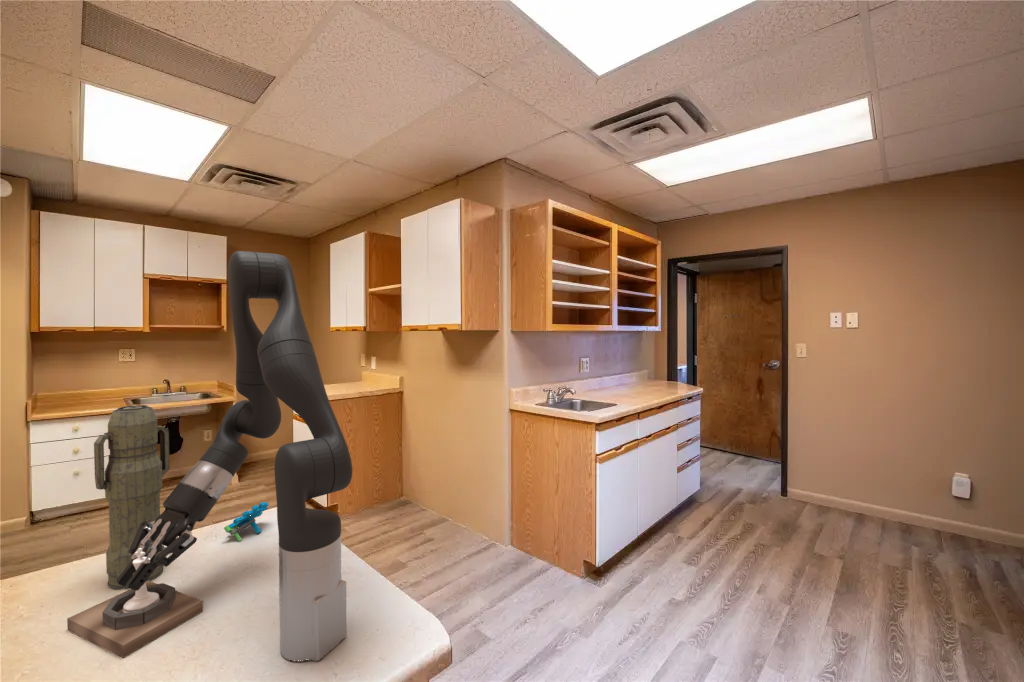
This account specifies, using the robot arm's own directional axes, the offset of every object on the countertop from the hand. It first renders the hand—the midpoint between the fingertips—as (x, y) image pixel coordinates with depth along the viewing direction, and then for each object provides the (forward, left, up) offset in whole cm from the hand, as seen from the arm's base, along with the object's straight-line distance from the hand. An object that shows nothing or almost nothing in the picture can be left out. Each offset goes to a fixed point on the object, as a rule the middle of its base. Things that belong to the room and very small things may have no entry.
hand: (126, 586), depth 74 cm
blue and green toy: (+14, -32, -8) cm, 35 cm away
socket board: (+1, -2, -7) cm, 8 cm away
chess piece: (0, -2, -5) cm, 5 cm away
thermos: (+16, -10, -8) cm, 21 cm away
